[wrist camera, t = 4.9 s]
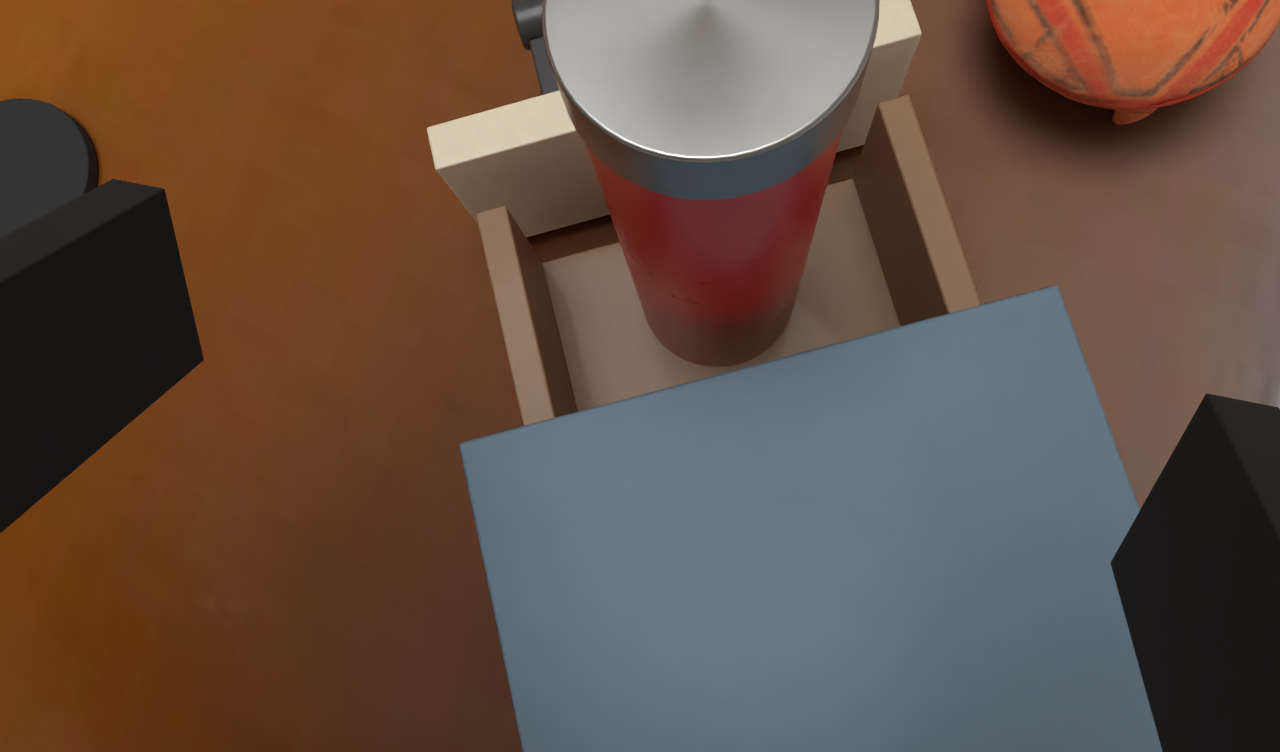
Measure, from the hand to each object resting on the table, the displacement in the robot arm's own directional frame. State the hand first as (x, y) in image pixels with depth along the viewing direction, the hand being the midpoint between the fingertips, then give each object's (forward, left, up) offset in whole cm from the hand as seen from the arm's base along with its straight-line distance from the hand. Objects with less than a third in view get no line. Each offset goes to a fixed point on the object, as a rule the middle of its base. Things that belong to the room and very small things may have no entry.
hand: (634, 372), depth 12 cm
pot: (+19, -2, -16) cm, 25 cm away
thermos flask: (+5, +2, -14) cm, 15 cm away
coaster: (-6, +25, -16) cm, 30 cm away
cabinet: (-2, -6, -16) cm, 17 cm away
